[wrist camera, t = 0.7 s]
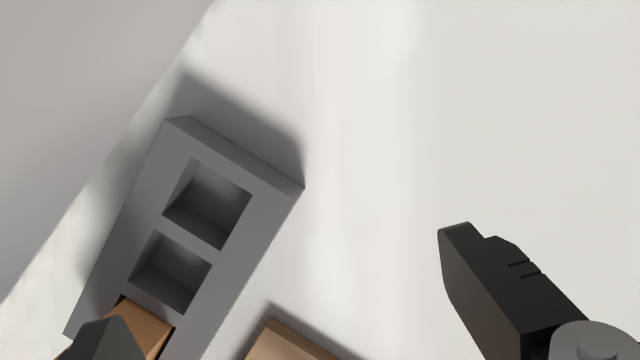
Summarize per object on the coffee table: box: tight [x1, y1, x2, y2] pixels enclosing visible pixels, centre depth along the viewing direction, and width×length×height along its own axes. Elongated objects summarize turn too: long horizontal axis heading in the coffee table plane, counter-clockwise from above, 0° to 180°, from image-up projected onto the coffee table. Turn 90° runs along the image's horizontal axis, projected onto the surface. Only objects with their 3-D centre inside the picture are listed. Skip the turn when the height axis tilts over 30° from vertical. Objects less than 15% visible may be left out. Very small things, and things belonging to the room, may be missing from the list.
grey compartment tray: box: [62, 115, 305, 360], centre depth 32 cm, size 19×10×4 cm, turn 149°
